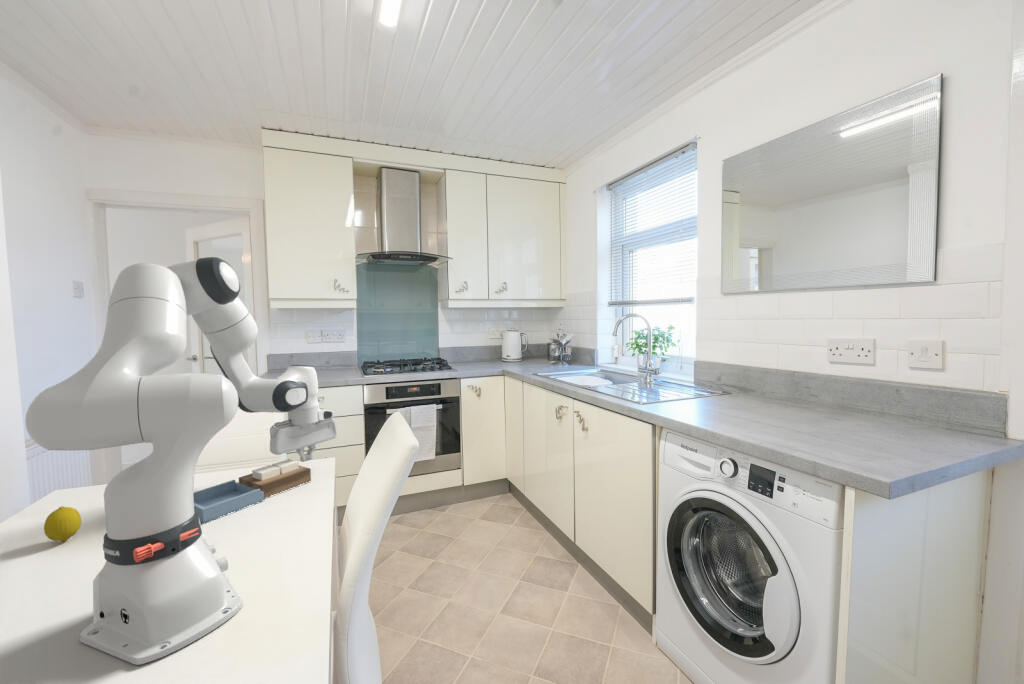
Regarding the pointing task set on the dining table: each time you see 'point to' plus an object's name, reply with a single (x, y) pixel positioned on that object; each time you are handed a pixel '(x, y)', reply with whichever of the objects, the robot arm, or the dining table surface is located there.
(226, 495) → the box
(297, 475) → the flat wooden block
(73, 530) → the lemon
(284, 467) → the tile rear
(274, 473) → the tile front
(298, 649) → the dining table surface
